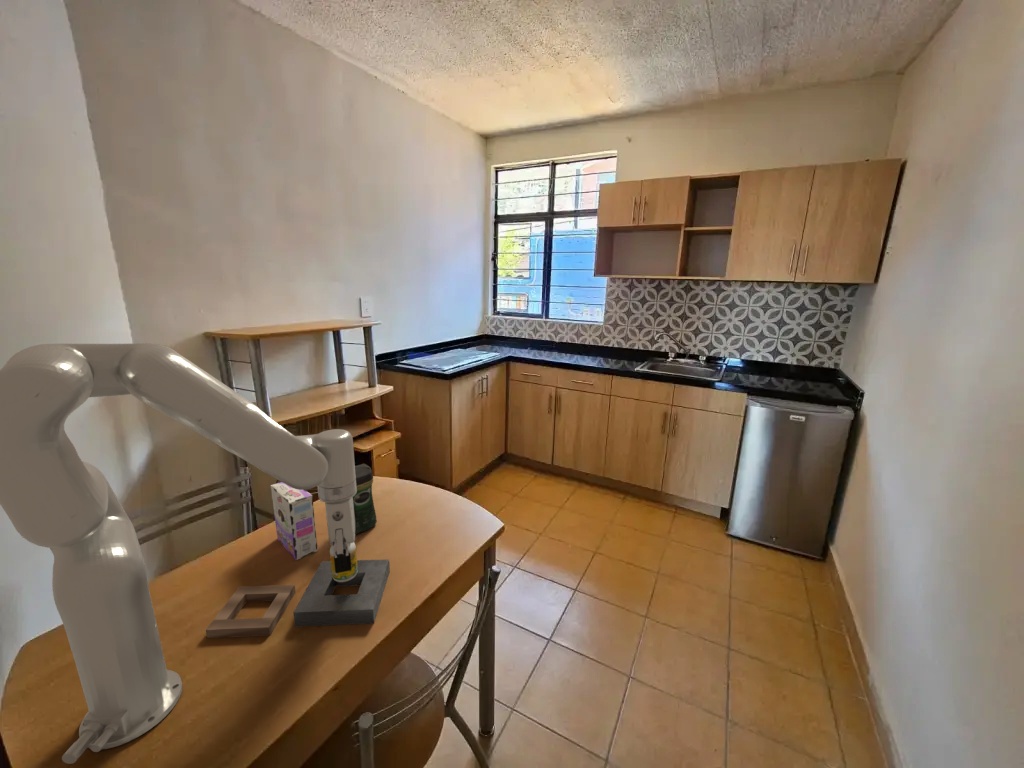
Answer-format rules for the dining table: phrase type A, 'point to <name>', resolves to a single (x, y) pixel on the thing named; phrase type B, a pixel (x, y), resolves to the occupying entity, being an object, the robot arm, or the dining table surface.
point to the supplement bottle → (354, 569)
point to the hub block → (343, 596)
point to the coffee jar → (364, 499)
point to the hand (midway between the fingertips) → (344, 561)
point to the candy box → (294, 519)
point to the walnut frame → (253, 626)
